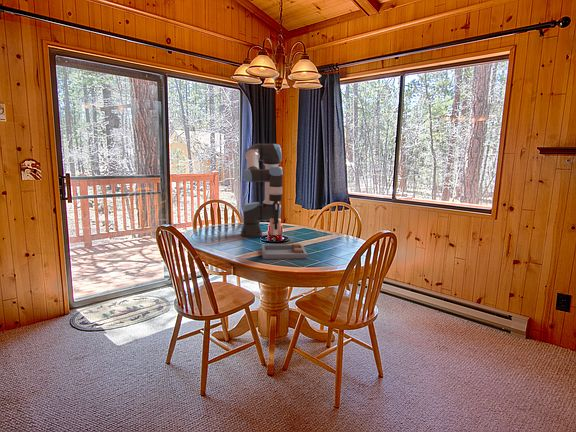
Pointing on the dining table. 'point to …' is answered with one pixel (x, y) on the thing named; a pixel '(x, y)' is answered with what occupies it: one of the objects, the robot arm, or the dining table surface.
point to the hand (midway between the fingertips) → (275, 233)
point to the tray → (281, 252)
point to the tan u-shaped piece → (272, 226)
